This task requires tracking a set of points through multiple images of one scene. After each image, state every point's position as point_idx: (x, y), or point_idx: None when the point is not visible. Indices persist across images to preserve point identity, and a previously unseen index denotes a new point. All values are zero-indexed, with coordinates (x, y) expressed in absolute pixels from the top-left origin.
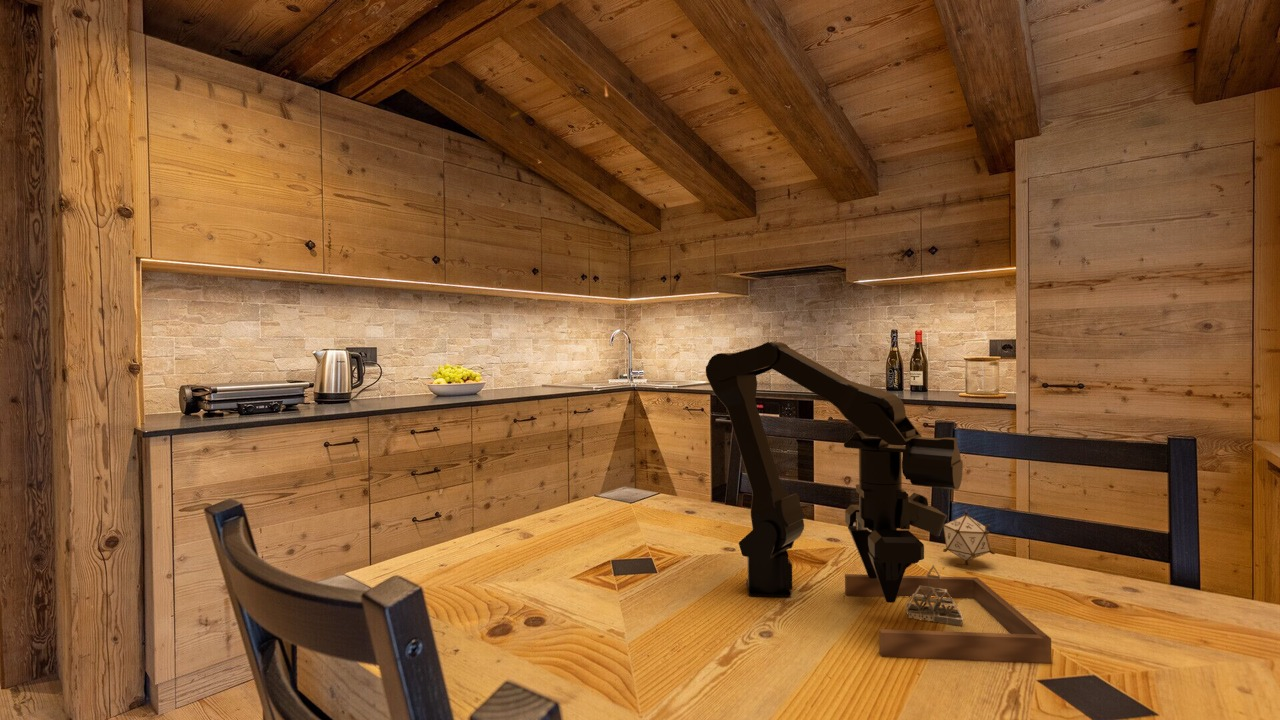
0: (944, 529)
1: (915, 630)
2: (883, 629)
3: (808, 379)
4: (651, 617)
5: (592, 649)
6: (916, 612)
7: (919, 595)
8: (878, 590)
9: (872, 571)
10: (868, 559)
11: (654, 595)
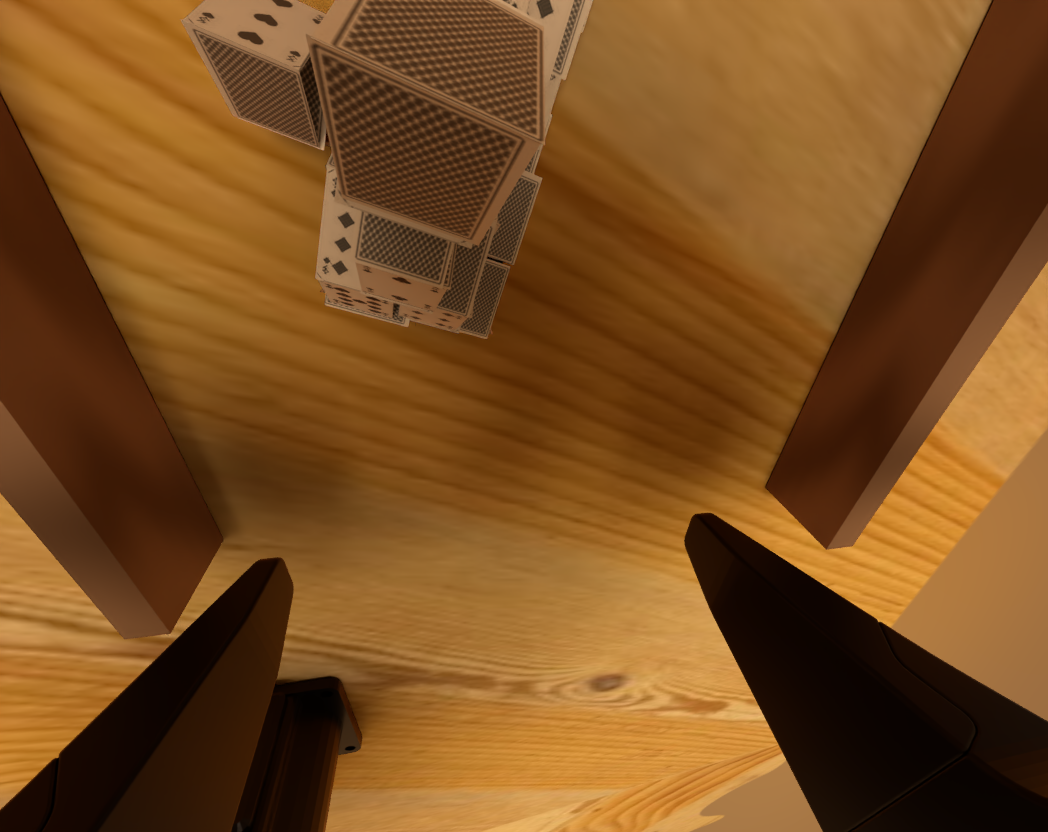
0: None
1: (897, 438)
2: (834, 538)
3: None
4: (523, 800)
5: (639, 802)
6: (485, 284)
7: (350, 236)
8: (132, 424)
9: (270, 622)
10: (229, 752)
11: (407, 827)
